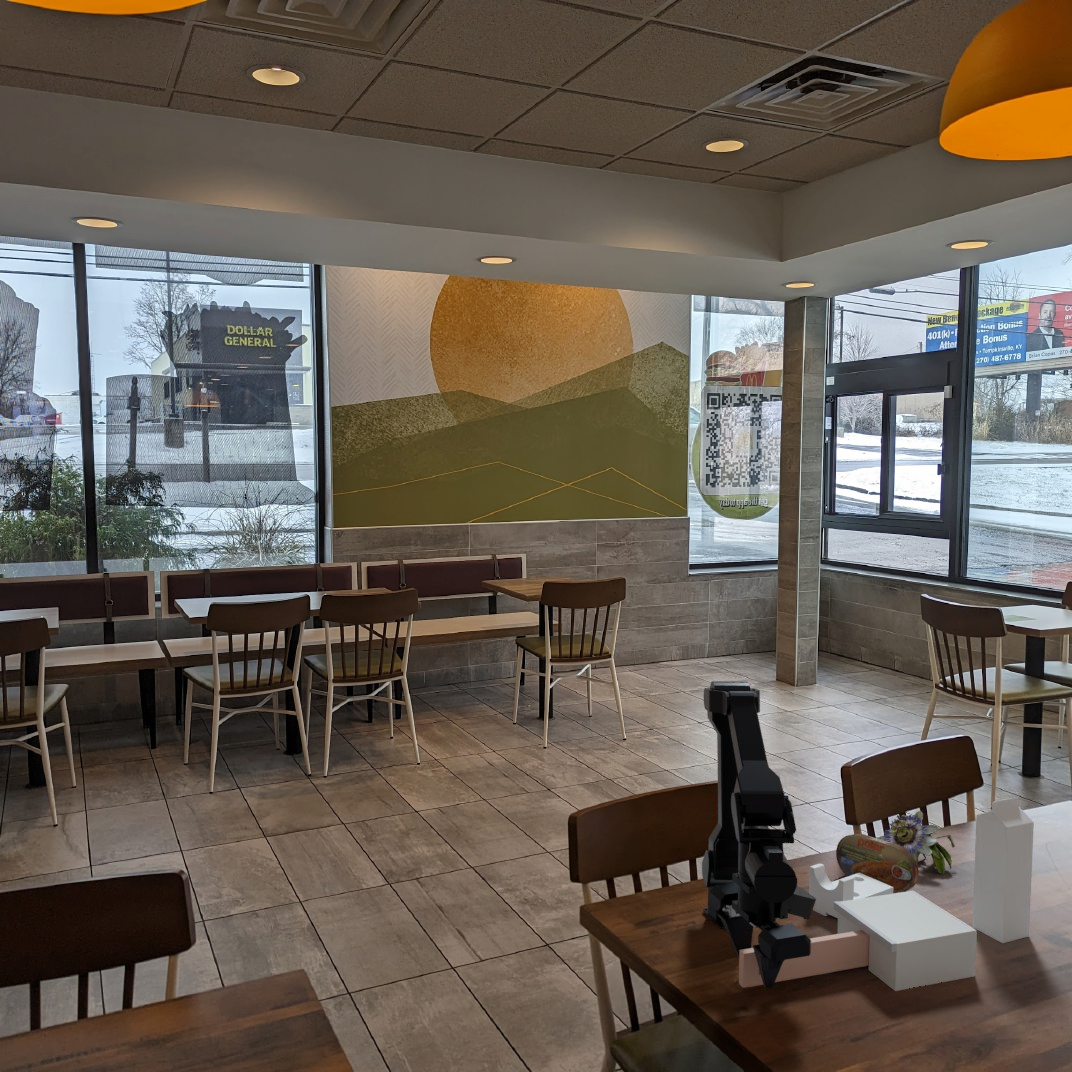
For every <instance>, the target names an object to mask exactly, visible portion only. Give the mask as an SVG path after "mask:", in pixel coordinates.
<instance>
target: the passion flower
mask: <svg viewBox="0 0 1072 1072" xmlns="http://www.w3.org/2000/svg"><path fill="white" fill-rule="evenodd" d="M896 818H897V819H893V820H894V821H892V820H891V823H888V824H889V826H890V829H885V831H884V833H883V835H881V836H879V837H877V839H880V840H884V841H887V842H890V843H894V844H897V845H900V846H902V847H904V848H906V849H907V850H908V851H909V852H910V853H911V854H912V855H913V857H914V858H915V860H916V862H917V864H918V863H919V862H918V861H919V857H920V854H921V855H922V856H923V857H924V859H925V858H927V857H930V856H931V858H932V861H933V863H934V866H935V869H936V870H937V872H938V873H939V874H940V875H942V874H944V875H945V871H946V863H945V861H946V862H947V864H948V866H949V869H950V870H951V869H952V856H951V855H950V853H949V851H948V850H947V849H945V847H943V846H942V845H941V844H940V843H939V842H938V840H937V839H940V838H946V837H947V839H948V840H949V842H950V843H951V848H955V847H956V845H955V841H954V840H953V838H952V835H951V834H948V835H941V836H937V837H933V836H932V835H933V834H934V833H936V832H938V831H939V828H940V827H939V825H938V824H925V825H924V824H923V822H922V821H923V819H924V813H923V811H922V810H918V811H916V812H915V814H914V815H912V814H909V815H905V814H902V815H901V816H900V815H896ZM926 856H927V857H926Z"/></svg>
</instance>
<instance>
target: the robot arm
mask: <svg viewBox="0 0 1072 1072" xmlns="http://www.w3.org/2000/svg"><path fill="white" fill-rule="evenodd" d="M760 693H761V690H760V689H757V688H755V687H753V688H752V687H751V685H750V683H749V682H748V681H718V680H717V681H714V680H713V681H711V682H710V684H709V687H704V689H703V706H704V709H705V710H706V711H707V713H706V715H707V719H708V721H709V722H710V724H711V726H712V727H713V729H714V731H715V733H716V735H717V736H716V737H717V738H716V743H717V745H716V748H717V751H716V753H717V754H716V755H717V808H718V809H717V815H718V816H717V824H716V825H715V827H714V828H713V830H712V831H711V834H710V835H709V837H708V850H707V849H706V850H705V852H704V855H703V858H702V862H701V874H702V875H701V876H702V878H703V881H704V884H705V887H706V888H707V907H706V908H703V909H702V911H703V914H704V915H705V916H707V917H708V918H709V919H710V920H711V921H712V922H713V923H714V924H715V925H716V926H717V928H719V929H725V931H726V934H727V936H728V937H729V939H730V942H731V945H732V947H733V949H734V951H735V954H736V957H737V959H739V952H740V950H742V949H748V948H753V949H754V953H755V956H756V960H757V963H758V967H759V971H760V974H761V978H762V981H763V984H762V985H763V986H764V989H766V990H769V989H772V988H773V987H774V985H775V983H776V982H775V980H776V978H777V976H778V973H779V971H780V968H781V966H782V964H783V962H784V960H787V959H793V958H799V957H805V956H810V953H811V940H810V938H809V937H808V936H807V935H806V934H805V933H804V932H803V931H802V930H800V929H799V928H798V927H797V926H795V925H794V924H793V923H787V924H782V925H781V924H779V923H778V922H777V921H776V920H777V919H780V920H786V919H789V916H788V915H792V916H798V917H800V918H802V919H803V920H805V921H806V920H808V921H809V920H811V919H810V918H811V916H812V913H813V911H814V910H813V907H814V904H815V901H816V898H815V897H813V896H812V895H811V894H809V891H807V890H805V889H804V888H802V887H800V886H798V878H797V874H796V872H795V871H794V868H793V867H792V866H791V864H790V862H789V860H788V859H787V857H786V855H785V852H784V844H794V843H795V835H794V834H795V833H796V832H797V828H796V826H797V825H796V821H795V816H794V810H793V805H792V801H791V800H790V799H789V795H788V794H787V793H786V792H784V788H783V784H782V782H781V777H780V776H779V775H778V774H777V773H776V772H775V771H774V770H773V769H771V767H770V766H769V762H768V758H767V753H766V749H765V745H764V739H763V734H762V730H761V724H760V719H759V715H758V714H759V713H760V712H761V700H760V699H761V694H760ZM782 824H783V828H784V829H783V828H770V827H780V826H781V825H782ZM754 928H755V929H756V928H757V929H758V928H759V930H760V931H761V932H760V933H759V934H758V936H757V937H758V938H757V943H758V944H754V945H752V944H753V943H752V942H753V933H754V932H753V931H754Z"/></svg>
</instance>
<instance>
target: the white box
mask: <svg viewBox="0 0 1072 1072" xmlns="http://www.w3.org/2000/svg"><path fill="white" fill-rule="evenodd" d="M834 910H835V911H837V912H838V918H837V932H836V934H841V933H847V932H853V931H859V930H862V931H864V932H865V933H866V934H868V935H869V936H870V941H869V966H868V971H870V972H871V973H872V974H873V975H874V976H876V977H877V978H878V979H879V980H880V981H882V982H883V983H884V984H885V985H887V986H888V987H889V988H891V989H892V990H893V991H894V992H899V991H904V990H909V988H910V989H914V988H913V987H915V988H920V987H919V986H921V987H925V985H926V986H931V985H935V984H940V983H941V982H942V983H946V982H947V983H948V982H953V981H957V980H961V979H962V980H963V979H969V978H974V977H976V966H977V965H976V964H977V962H976V961H977V960H976V959H977V937H978V936H977V935H978V934H977V933H978V930H977V929H975V928H973V927H972V926H970V925H969V924H968V923H965V922H964V921H963V920H961V919H959V918H958V917H956V916H955V915H953V914H951V913H950V912H948V911H946V910H945V909H943V908H942V907H940V906H938V905H937V904H935V903H934V902H932V901H931V900H929V899H928V898H926V897H924V896H923V895H921V894H919V893H918V892H916V891H915V890H908V891H906V892H900V893H893V894H887V895H880V896H874V897H867V898H860V899H854V900H847V901H841V902H839V901H836V902H834ZM942 983H941V984H942Z"/></svg>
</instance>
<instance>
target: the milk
mask: <svg viewBox="0 0 1072 1072" xmlns="http://www.w3.org/2000/svg"><path fill="white" fill-rule="evenodd" d="M1019 804H1020V799H1019V797H1018V796H1016V797H1010V798H1006V799H1000V800H995V801H992V803H991V810H990V811H987V812H982V813H980V814H977V815H976V818H975V819H976V820H975V845H974V846H975V847H974V850H975V851H974V875H973V897H972V898H973V900H972V926H971V927H972V928H974V929H975V930H977V932H978V931H979V932H980V933H982V934H984V935H986V936H988V937H990V938H991V939H994V940H995V941H998V942H999V943H1001V944H1006V943H1010V942H1014V941H1017V940H1021V939H1024V938H1028V937H1030V925H1031V921H1030V919H1031V896H1032V876H1033V875H1032V871H1033V854H1034V853H1033V847H1034V821H1033V820H1032V819H1031V818H1030V817H1029V815H1028V814H1027V813H1026V812H1025V811H1024V810H1023V809H1022V808H1021V807H1020V806H1019Z"/></svg>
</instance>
